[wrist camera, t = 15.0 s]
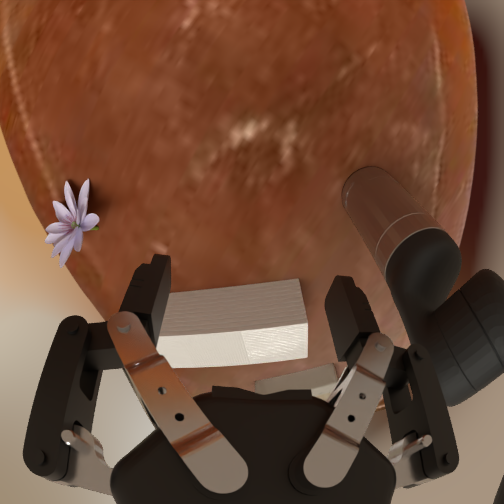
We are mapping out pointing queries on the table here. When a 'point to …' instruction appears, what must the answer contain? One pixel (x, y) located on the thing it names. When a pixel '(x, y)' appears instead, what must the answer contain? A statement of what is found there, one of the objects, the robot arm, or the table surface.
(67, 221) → the water lily
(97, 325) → the robot arm
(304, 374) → the box
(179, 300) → the stack of papers
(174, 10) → the table surface
